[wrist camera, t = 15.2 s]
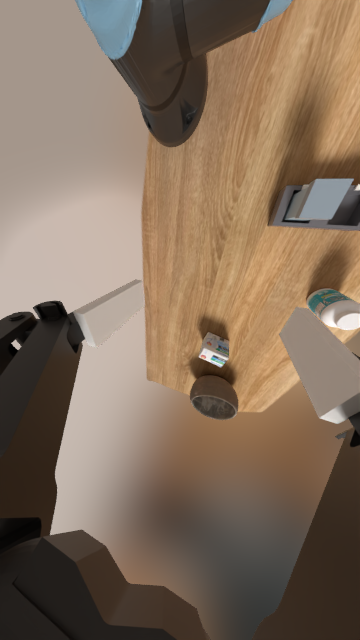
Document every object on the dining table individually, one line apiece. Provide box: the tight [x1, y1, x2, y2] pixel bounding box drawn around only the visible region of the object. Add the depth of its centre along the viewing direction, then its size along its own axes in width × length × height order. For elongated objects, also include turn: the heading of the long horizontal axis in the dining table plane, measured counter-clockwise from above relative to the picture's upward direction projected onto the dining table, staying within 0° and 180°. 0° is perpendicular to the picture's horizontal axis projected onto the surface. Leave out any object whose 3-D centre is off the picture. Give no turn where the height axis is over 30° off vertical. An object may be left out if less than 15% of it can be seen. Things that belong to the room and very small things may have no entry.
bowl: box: [190, 375, 238, 420], centre depth 73 cm, size 24×24×15 cm
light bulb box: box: [199, 332, 229, 367], centre depth 59 cm, size 11×7×11 cm, turn 73°
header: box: [268, 184, 360, 231], centre depth 30 cm, size 7×18×6 cm, turn 86°
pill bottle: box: [306, 288, 360, 330], centre depth 36 cm, size 8×7×14 cm
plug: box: [282, 179, 354, 221], centre depth 28 cm, size 5×5×13 cm
